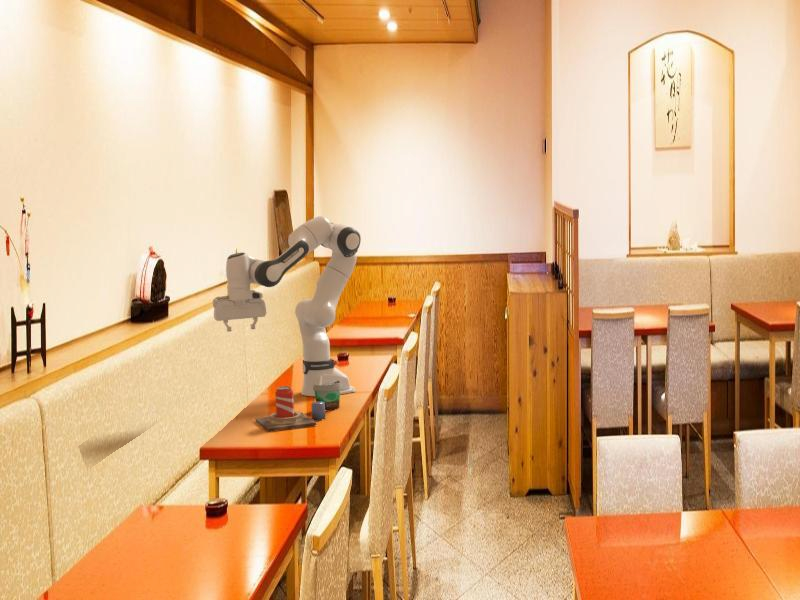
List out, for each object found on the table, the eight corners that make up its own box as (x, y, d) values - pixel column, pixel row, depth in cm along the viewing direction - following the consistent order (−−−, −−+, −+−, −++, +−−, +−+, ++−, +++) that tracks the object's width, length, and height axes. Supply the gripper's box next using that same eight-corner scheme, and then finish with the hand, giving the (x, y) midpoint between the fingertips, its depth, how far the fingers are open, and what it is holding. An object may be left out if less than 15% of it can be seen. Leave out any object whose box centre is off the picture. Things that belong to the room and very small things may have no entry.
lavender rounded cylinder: (322, 416, 375) (322, 400, 374) (327, 419, 371) (326, 403, 370) (310, 418, 373) (309, 402, 373) (314, 421, 369) (313, 405, 368)
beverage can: (297, 419, 367) (296, 387, 365) (284, 422, 362) (283, 390, 361) (286, 417, 371) (284, 385, 369) (273, 420, 366) (271, 388, 365)
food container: (323, 413, 381) (321, 387, 380) (313, 410, 386) (312, 385, 385) (349, 407, 389) (348, 382, 388) (339, 405, 394) (338, 380, 392)
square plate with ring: (302, 415, 378) (301, 407, 377) (316, 425, 361) (316, 417, 361) (255, 421, 371) (254, 412, 371) (267, 431, 354) (267, 423, 354)
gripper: (214, 297, 382) (216, 333, 383) (266, 293, 389) (268, 328, 391) (210, 296, 388) (212, 331, 389) (262, 292, 395) (264, 326, 397)
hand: (241, 330), depth 390 cm, fingers open, 8 cm apart
